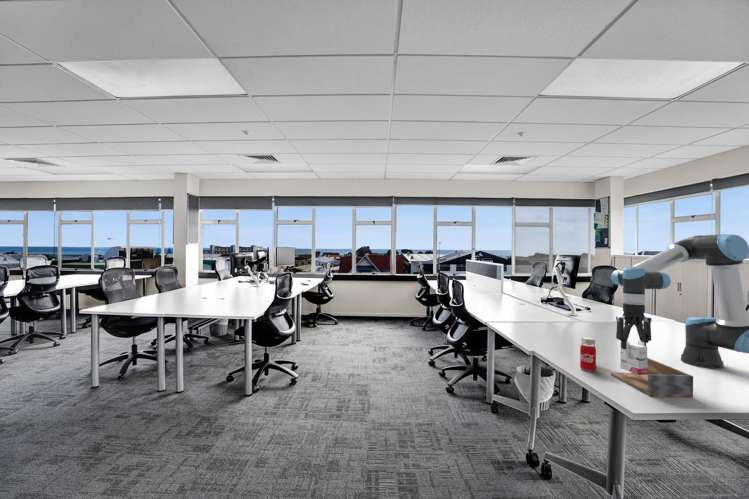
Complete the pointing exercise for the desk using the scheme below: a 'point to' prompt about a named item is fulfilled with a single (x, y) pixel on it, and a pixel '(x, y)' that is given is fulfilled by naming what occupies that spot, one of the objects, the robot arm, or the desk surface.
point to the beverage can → (588, 357)
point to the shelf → (659, 381)
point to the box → (588, 340)
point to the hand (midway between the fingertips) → (633, 356)
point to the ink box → (634, 359)
